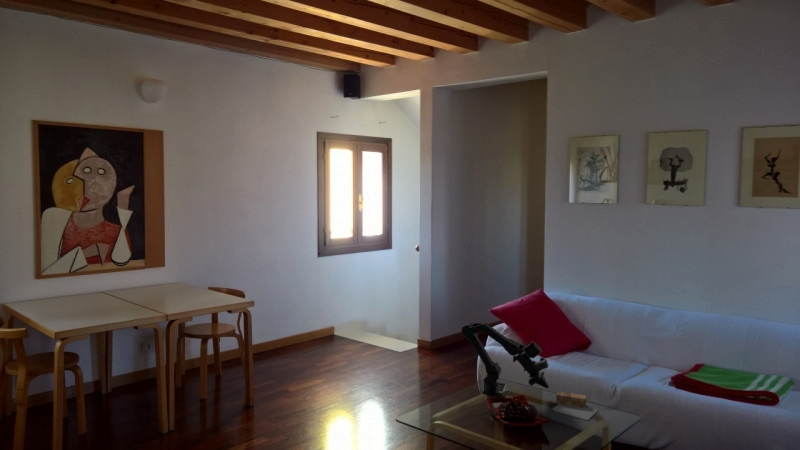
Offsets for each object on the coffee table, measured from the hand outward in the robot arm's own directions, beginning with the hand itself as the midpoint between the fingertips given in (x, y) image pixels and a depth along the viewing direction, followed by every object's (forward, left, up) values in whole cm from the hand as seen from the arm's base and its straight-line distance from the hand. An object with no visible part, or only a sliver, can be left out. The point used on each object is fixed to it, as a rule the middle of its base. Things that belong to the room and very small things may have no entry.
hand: (548, 387), depth 298 cm
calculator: (-9, -25, -8) cm, 27 cm away
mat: (+15, -2, -7) cm, 17 cm away
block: (+4, +1, -4) cm, 6 cm away
